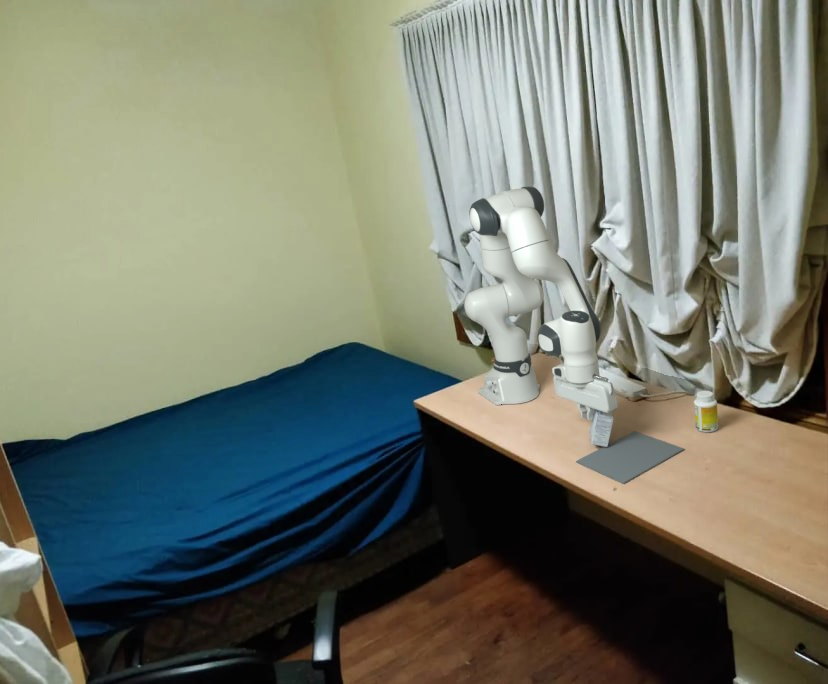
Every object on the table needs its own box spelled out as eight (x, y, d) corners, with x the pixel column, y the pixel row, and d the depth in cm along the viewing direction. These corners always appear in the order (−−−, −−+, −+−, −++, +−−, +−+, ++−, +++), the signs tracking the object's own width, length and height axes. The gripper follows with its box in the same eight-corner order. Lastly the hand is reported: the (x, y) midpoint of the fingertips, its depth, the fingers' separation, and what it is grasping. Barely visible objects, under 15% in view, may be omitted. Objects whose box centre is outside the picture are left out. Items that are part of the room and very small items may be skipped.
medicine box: (607, 448, 168) (614, 418, 166) (590, 444, 169) (597, 414, 167) (605, 436, 176) (611, 407, 173) (588, 433, 177) (595, 404, 174)
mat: (576, 462, 165) (575, 461, 165) (634, 432, 175) (634, 430, 175) (623, 484, 152) (623, 482, 152) (684, 450, 161) (684, 448, 161)
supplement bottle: (723, 427, 168) (721, 392, 165) (709, 435, 166) (707, 399, 163) (704, 422, 173) (702, 387, 170) (690, 429, 171) (688, 394, 168)
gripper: (620, 375, 162) (625, 424, 166) (564, 360, 179) (570, 405, 183) (602, 383, 159) (607, 433, 163) (547, 367, 176) (553, 412, 180)
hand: (587, 418), depth 173 cm, fingers closed
